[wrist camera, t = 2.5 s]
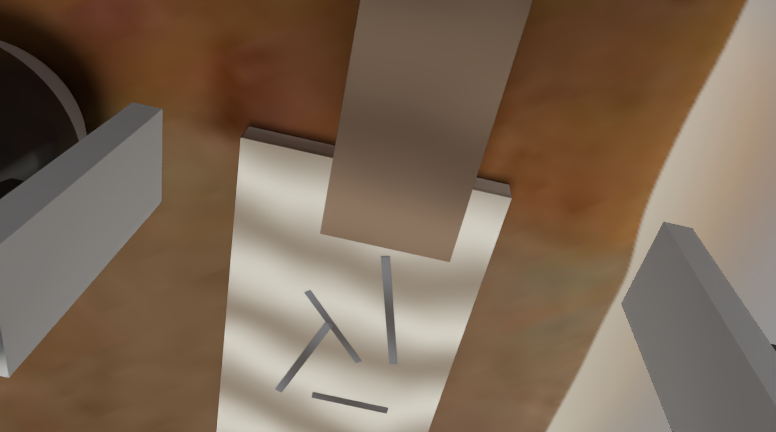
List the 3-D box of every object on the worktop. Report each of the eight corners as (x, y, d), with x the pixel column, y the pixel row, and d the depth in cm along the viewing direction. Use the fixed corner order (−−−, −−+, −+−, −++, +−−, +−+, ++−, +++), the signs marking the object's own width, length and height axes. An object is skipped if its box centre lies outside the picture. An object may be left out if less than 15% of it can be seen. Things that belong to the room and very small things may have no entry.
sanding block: (395, -79, 26) (369, -50, 17) (507, -52, 26) (536, -11, 18) (355, 131, 31) (319, 233, 23) (449, 152, 31) (449, 262, 23)
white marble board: (249, 126, 31) (240, 137, 30) (509, 184, 32) (511, 198, 30) (222, 427, 44) (215, 445, 42) (410, 466, 44) (408, 485, 43)
